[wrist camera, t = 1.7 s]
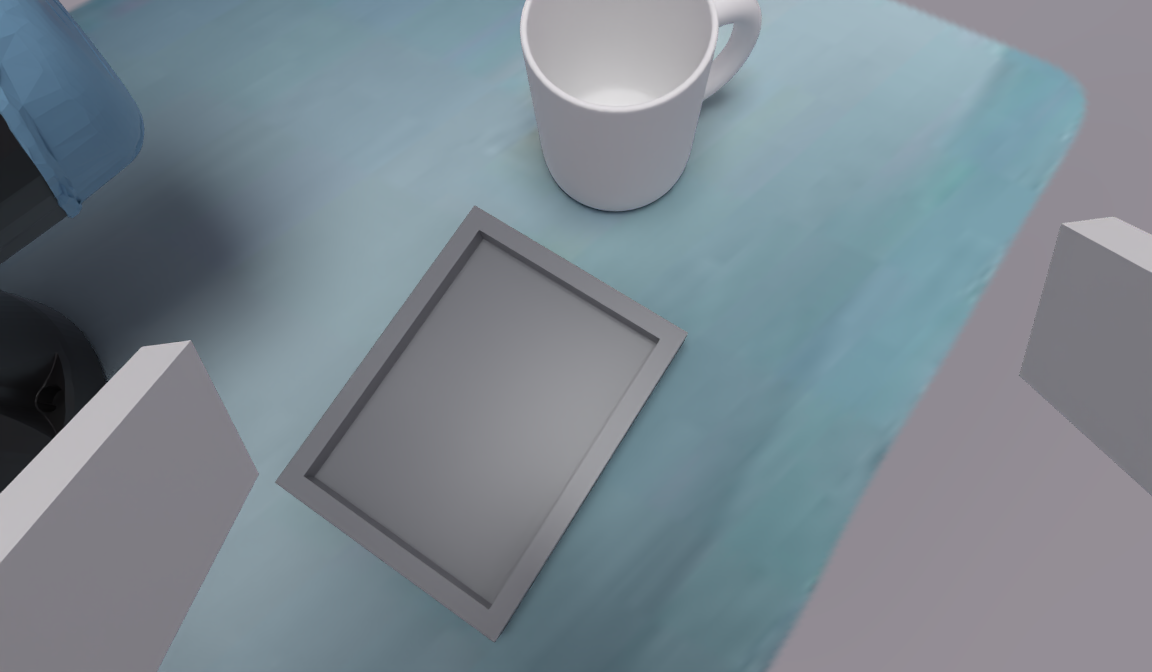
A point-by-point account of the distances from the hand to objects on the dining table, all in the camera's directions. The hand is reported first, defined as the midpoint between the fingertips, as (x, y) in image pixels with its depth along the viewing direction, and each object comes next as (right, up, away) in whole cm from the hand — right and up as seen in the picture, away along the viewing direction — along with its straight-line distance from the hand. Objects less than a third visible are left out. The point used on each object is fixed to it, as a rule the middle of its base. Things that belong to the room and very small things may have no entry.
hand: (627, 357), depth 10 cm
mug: (+3, +12, +27) cm, 30 cm away
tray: (-5, -4, +24) cm, 25 cm away
